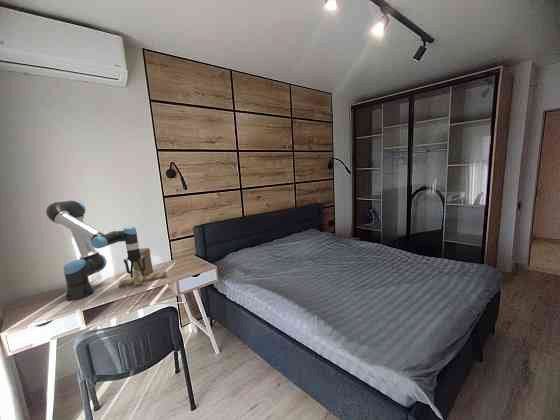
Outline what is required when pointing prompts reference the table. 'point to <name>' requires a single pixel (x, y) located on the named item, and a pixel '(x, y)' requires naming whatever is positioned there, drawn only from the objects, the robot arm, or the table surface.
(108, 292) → the table surface
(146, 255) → the wooden block
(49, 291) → the table surface
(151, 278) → the board
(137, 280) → the gauge
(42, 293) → the table surface
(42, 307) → the table surface
